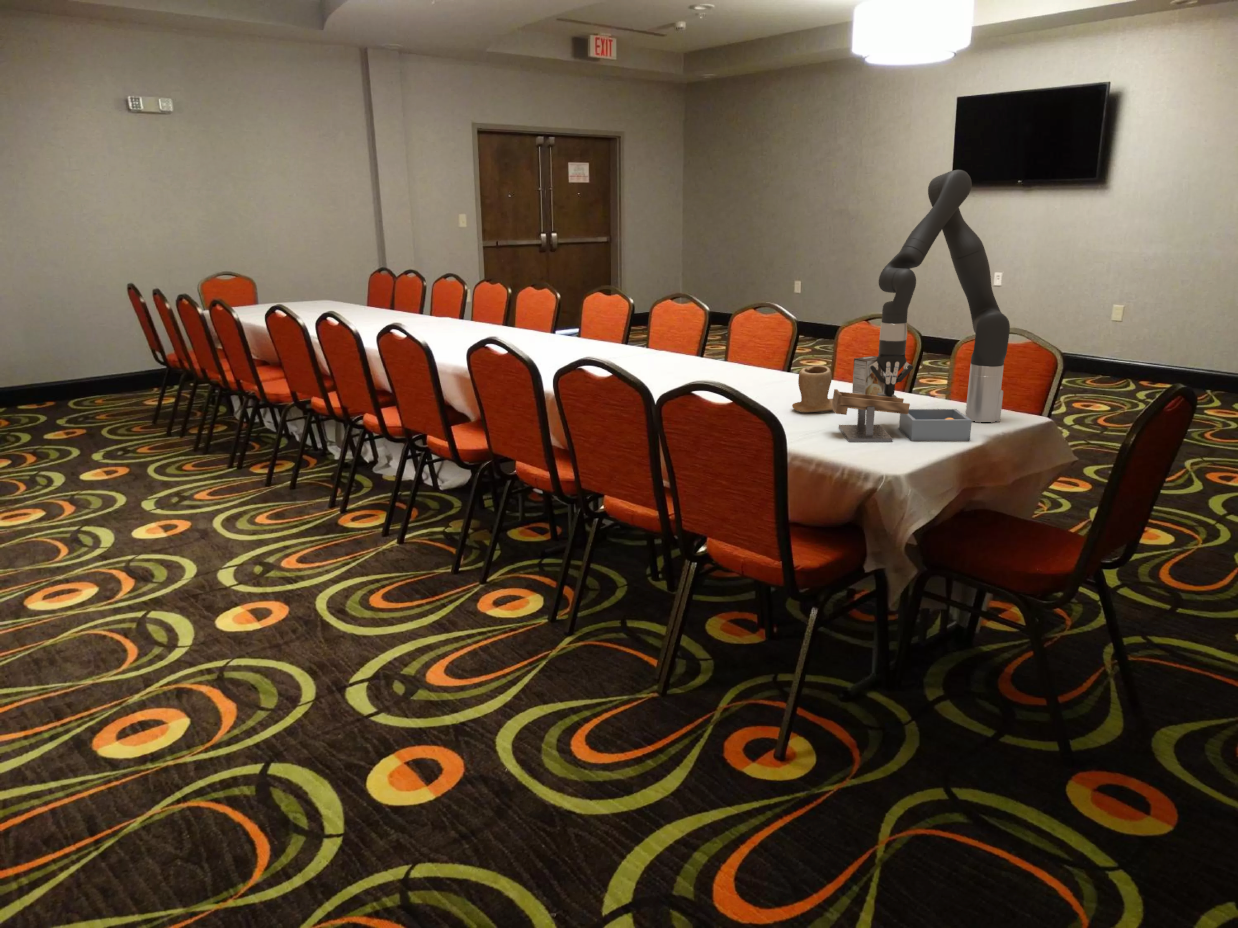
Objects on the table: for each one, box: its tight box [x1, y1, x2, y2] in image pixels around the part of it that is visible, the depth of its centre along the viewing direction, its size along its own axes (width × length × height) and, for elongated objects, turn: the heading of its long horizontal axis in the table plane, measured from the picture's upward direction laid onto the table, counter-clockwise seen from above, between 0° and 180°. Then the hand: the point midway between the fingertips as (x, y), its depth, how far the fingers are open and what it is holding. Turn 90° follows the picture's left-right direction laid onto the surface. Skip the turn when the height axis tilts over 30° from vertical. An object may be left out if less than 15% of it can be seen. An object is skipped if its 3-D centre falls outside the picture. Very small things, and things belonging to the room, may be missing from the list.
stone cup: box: [791, 364, 833, 413], centre depth 271 cm, size 15×12×15 cm
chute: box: [831, 388, 911, 416], centre depth 245 cm, size 20×18×6 cm
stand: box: [838, 406, 893, 443], centre depth 242 cm, size 12×16×10 cm
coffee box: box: [851, 355, 884, 396], centre depth 277 cm, size 9×6×16 cm
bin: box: [898, 408, 973, 442], centre depth 241 cm, size 16×14×6 cm
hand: (888, 396), depth 250 cm, fingers closed
